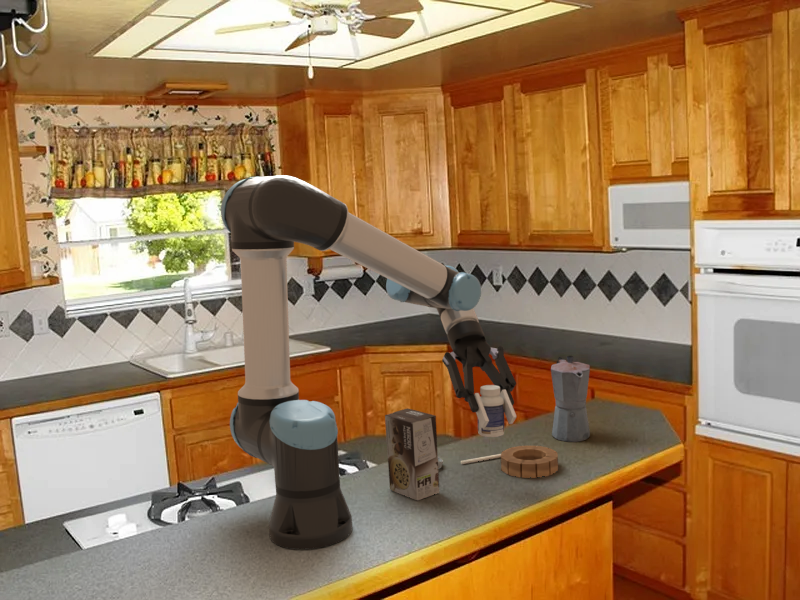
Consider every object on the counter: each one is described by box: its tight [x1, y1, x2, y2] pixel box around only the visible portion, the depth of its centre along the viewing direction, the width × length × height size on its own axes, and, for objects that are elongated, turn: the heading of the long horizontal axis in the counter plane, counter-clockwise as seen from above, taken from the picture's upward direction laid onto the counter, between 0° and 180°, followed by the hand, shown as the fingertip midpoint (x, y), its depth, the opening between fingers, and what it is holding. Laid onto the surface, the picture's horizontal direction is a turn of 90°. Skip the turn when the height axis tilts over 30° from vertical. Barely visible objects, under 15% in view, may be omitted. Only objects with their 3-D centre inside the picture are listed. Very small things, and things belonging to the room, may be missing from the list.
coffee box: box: [384, 408, 440, 501], centre depth 168 cm, size 9×6×16 cm
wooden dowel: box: [460, 453, 501, 465], centre depth 186 cm, size 16×1×1 cm, turn 110°
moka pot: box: [550, 354, 591, 443], centre depth 197 cm, size 10×15×20 cm, turn 14°
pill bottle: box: [477, 384, 505, 438], centre depth 168 cm, size 5×5×10 cm
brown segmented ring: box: [500, 445, 559, 479], centre depth 178 cm, size 12×12×3 cm
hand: (499, 422), depth 165 cm, fingers closed on pill bottle, 5 cm apart
